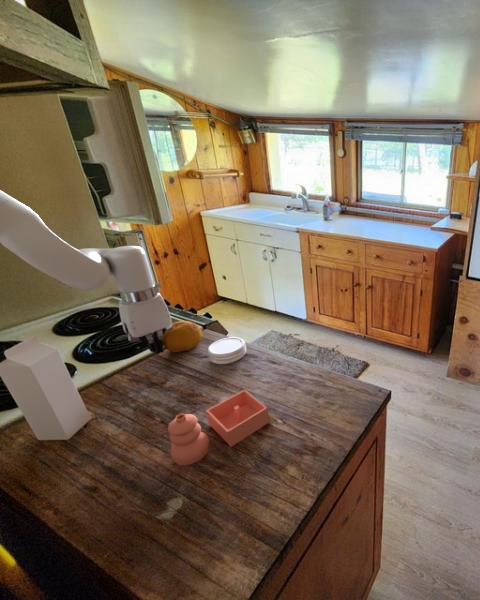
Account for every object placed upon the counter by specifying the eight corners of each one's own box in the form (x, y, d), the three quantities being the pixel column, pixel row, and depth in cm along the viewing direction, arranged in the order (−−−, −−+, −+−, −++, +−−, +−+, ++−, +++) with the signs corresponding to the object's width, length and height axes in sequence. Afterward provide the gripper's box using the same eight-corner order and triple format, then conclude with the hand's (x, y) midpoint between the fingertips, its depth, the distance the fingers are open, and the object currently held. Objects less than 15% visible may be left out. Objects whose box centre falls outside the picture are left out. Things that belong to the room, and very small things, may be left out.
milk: (91, 418, 73) (52, 334, 64) (68, 440, 68) (21, 352, 58) (62, 419, 73) (19, 334, 64) (36, 440, 67) (-15, 351, 58)
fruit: (156, 351, 97) (148, 328, 94) (189, 335, 106) (183, 313, 103) (179, 360, 94) (172, 336, 90) (212, 343, 103) (206, 320, 99)
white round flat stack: (253, 353, 99) (252, 343, 97) (222, 369, 91) (220, 359, 89) (234, 342, 103) (232, 333, 102) (202, 357, 96) (200, 347, 94)
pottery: (247, 402, 80) (241, 370, 75) (269, 421, 75) (264, 387, 70) (164, 450, 66) (151, 414, 62) (184, 477, 61) (171, 439, 57)
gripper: (161, 281, 93) (177, 336, 101) (97, 299, 81) (120, 360, 89) (176, 287, 90) (191, 343, 98) (112, 307, 78) (134, 369, 86)
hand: (157, 351), depth 93 cm, fingers closed
